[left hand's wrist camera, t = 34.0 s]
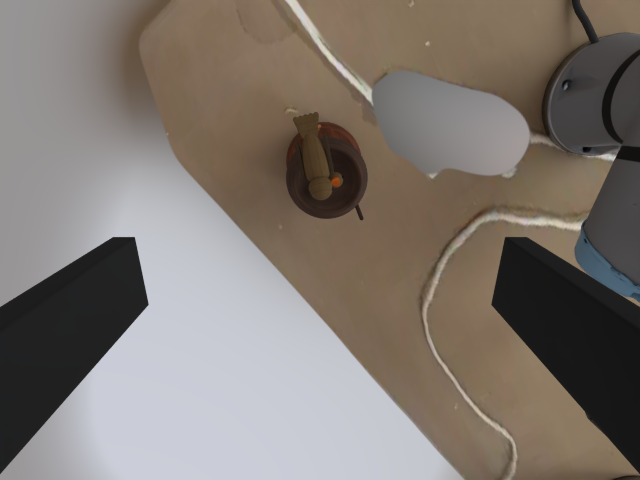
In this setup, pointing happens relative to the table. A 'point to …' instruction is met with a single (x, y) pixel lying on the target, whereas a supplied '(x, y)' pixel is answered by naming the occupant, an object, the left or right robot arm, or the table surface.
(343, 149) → the music box
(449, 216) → the table surface
